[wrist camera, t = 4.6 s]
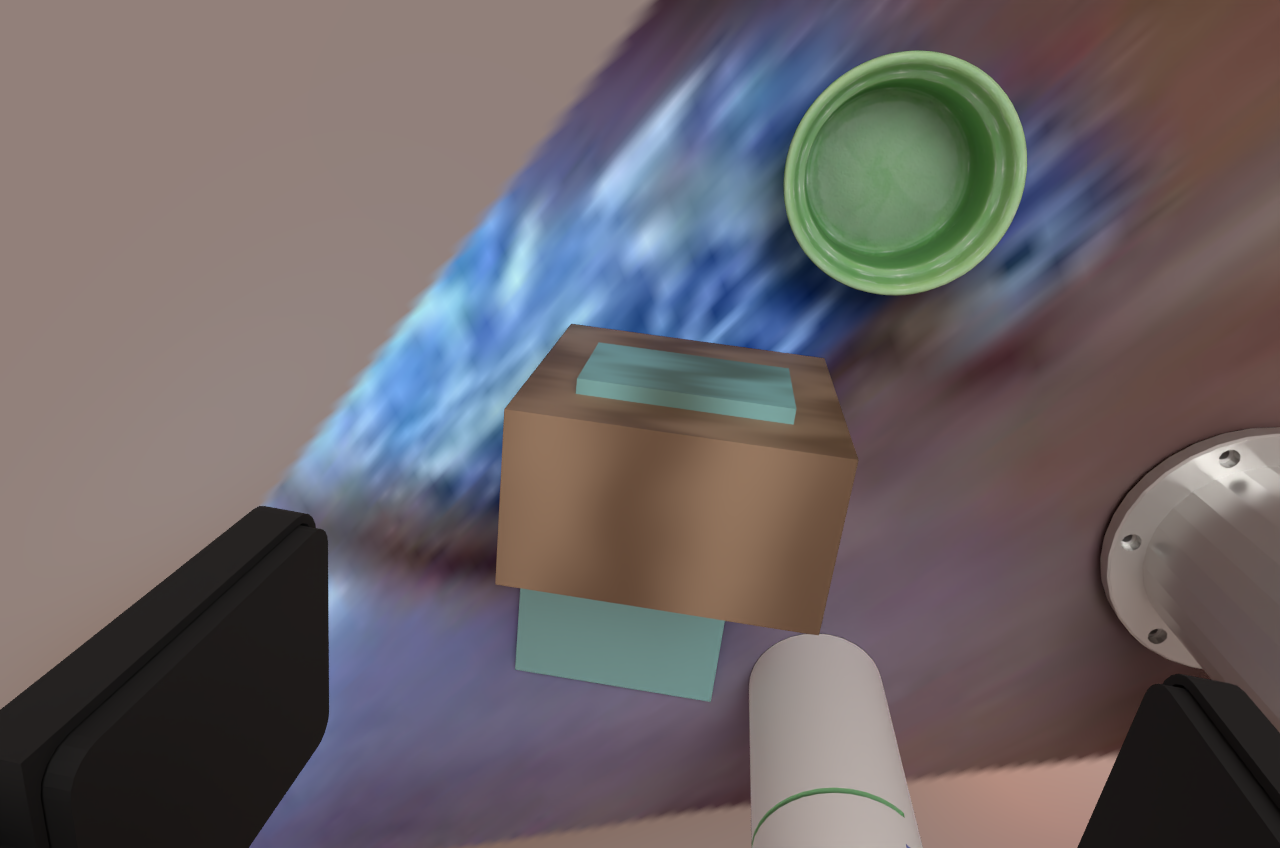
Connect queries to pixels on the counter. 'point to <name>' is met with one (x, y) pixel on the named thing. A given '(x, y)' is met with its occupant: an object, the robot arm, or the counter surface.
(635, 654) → the teal pad
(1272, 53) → the counter surface
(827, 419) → the walnut housing
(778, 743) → the cylindrical container
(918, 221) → the ramekin
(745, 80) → the counter surface
